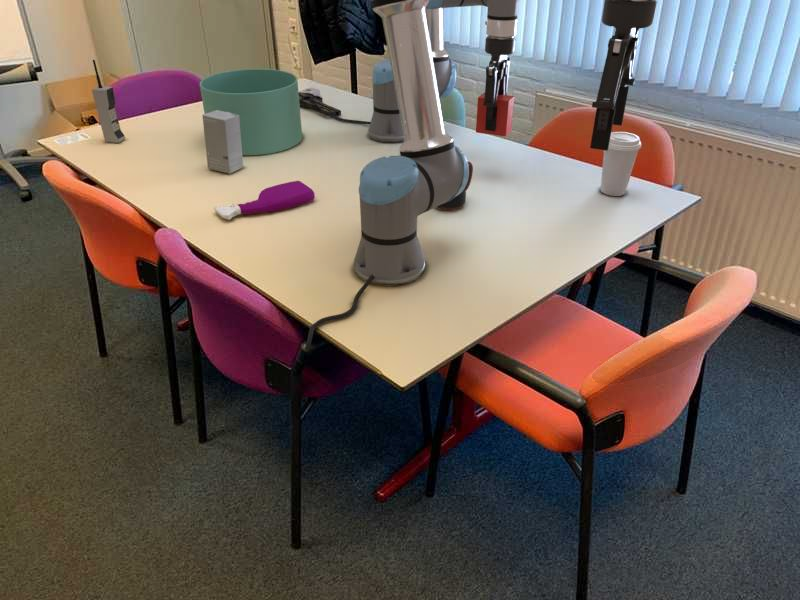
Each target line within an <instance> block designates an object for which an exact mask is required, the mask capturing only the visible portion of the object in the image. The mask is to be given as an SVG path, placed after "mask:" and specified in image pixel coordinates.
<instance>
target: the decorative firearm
mask: <svg viewBox="0 0 800 600" xmlns="http://www.w3.org/2000/svg"><path fill="white" fill-rule="evenodd" d="M298 92H299V104H300V106H302V107H305V108H306V107H308V108H310V109H311V110H315V111H316V112H319V113H322V114H323V115H325V116H327V117H332V115H335V116H337V117H340V116H342V110H340V109H338V108H336V107H334V106H331V105H328V104H326V103H324V102H323V101H324V100H323V99H324V98H323V97H321V89H319V88H316V87H308V88H304V89H302V90H301V91H298Z"/></svg>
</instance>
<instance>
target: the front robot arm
mask: <svg viewBox="0 0 800 600" xmlns="http://www.w3.org/2000/svg"><path fill="white" fill-rule="evenodd" d="M370 2H371V10H372V11H373V12H374V13H376V14H377V15H378V16H379V17H380V18H381V21H382V26H383V32H384V36H385V41H386V47H387V52H388V59H390V63H391V69H392V74H393V80H394V85H395V90H396V96H397V101H398V106H399V112H400V117H401V122H402V128H403V133H404V138H405V139H404V141H403V142H401V145H400V146H399V149H398V151H399V155H389V156H387V157H386V156H381V157H378V158H376V159H373V160H371V161H369V162H368V163H367V164H366V165H365V166H363V168H362V170H361V171H360V174H359V184H358V185H359V186H358V195H359V210H360V211H359V212H360V239H359V242H358V247H357V249H356V252H355V256H354V259H353V270H354V273H355V275H356V276H357V277H358V278H359V279H360V280H362V281H364V283H363V285H362V286H361V287H360V289H359V290H358V291H357V293H356V294H355V296H354V297H353V301H352V304H351V307H350V308H349V309H348V310H347V311H345V312H342V313H339V314H334V315H329V316H325V317H322V318H320V319H318V320H317V321H316V322H314V323H313V324H312V325H311V326H310V327H309V330H308V334H307V338H306V339H307V340H306V343H305V347H304V350H305V351H308V350H310V349H311V345H312V341H313V337H314V332H315V330H316V329H317V328H318V327H319V326H320V325H322V324H324V323H327V322H331V321H335V320H341V319H345V318H346V317H348V316H351V315H352V314H353V313H354V312H355V310H356V309H357V306H358V302H359V299H360V298H361V296H362V295H363V293H364V292H365V291H366V289H368V287H369V286H370V285H371V284H372V285H376V286H382V287H395V286H402V285H406V284H410V283H413V282H415V281H417V280H418V279H420V278H421V276H423V274H424V273H425V270H426V261H425V255H424V252H423V250H422V247H421V244H420V241H419V238H418V217H419V216H421V215H423V214H426V213H427V212H429V211H431V210H433V209H435V208H437V206H439V205H441V204H444V203H447V202H449V201H451V200H452V199H453V198H454V197H456V196H457V195H459V194H460V193H461V192H462V191H463V189H464V188H465V187H466V184H467V182H468V178H469V166H468V162H467V161H468V159H467V157H466V154H464V153H462V150H461V148H460V147H458V146H457V145H455V141H454V137H452V135H450V134H449V133H447V132H446V130H445V124H444V119H443V112H442V106H441V100H440V99H441V98H439V93H438V87H437V81H436V75H435V68H434V62H433V56H432V50H431V44H430V37H429V31H428V25H427V19H426V13H425V8H426V5H427V4H428V2H429V0H370ZM657 6H658V1H657V0H604V3H603V10H602V16H601V22H602V24H603V25H604V26H606V27H613V28H615V31H614V35H612V36H611V37H610V38H609V40H608V43H607V53H606V57H605V61H604V65H603V70H602V74H601V79H600V83H599V87H598V92H597V96H596V100H595V101H592V104H591V108H593V109H596V110H595V115H594V122H593V128H592V132H591V133H592V134H591V138H590V139H591V140H590V145H589V146H590V147H589V149H592V150H593V149H594V150H600V151H604V150H606V151H607V150H608V147H609V142H610V136H611V133H612V132H613V131H612V130H613V126H622V125H623V121H624V116H625V111H626V105H627V101H628V95H629V89H630V86H632V87H633V86H634V85H635V81H636V79H635V78H633V75H634V65H635V58H636V54H637V48H638V44H639V31H640V30H641V29H646V28H650V27H651V26H652V25H653V24H654V22H655V21H654V20H655V16H656V11H657Z"/></svg>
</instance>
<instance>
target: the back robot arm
mask: <svg viewBox="0 0 800 600" xmlns="http://www.w3.org/2000/svg"><path fill="white" fill-rule="evenodd" d="M519 5H520V0H429V2H428V4H427V5H426V8H425V13H426V19H427V25H428V31H429V37H430V44H431V50H432V56H433V62H434V68H435V75H436V81H437V87H438V93H439V99H442V98H447V97H448V96H450V95H451V94H452V92H453V91H454V89H455V86H456V82H457V68H456V64H455V62H454V61H453V59H451V58H450V53H448V51H447V50H446V49H445V20H444V19H445V18H444V17H445V14H444V13H445V10H444V9H448V8H463V7H477V6H480V7H481V6H483V7H485V8H487V12H486V13H487V14H486V21H484V24H485V26H486V31H485V34H486V35H487V36H486V37H485V40H484V41H485V43H484V51H485V53H486V54H488V55H490V56H491V58H490V60H489V62H488V66H486V67H485V86H484V93H485V99H484V104H483V105H484V106H487V110H486V125H485V130H489V131H496V119H497V107H498V106H496V105H497V97H498V94H499V95H508V89H509V87H508V86H509V77H510V76H509V75H510V66H511V61H512V59H511V56H510V57H509V55H513V54H514V53H515V49H516V37H515V36H517V31H518V30H517V28H518V16H519V8H520V7H519ZM371 82H372V100H373V101H372V109H373V110H372V111H373V112H372V117H371V118H370V119H371V120H370V121H366V120H359V119H348V118H342V117H340V116H335V115H332V116H331V117H332V118H333V119H335V120H336V121H339V122H344V123H352V124H360V125H367V126H368V125H369V126H368V129H367V132H368V133H367V134H368V137H369V138H370V139H372V140H373V141H376V142H381V143H403V142H404V139H405V138H404V133H403V128H402V122H401V117H400V112H399V106H398V101H397V96H396V90H395V85H394V80H393V74H392V69H391V63H390V58H386V59H383V60H381V61H379V62H377V63H376V64H375V65H374V66H373V68H372V79H371Z"/></svg>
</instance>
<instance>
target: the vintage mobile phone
mask: <svg viewBox="0 0 800 600" xmlns="http://www.w3.org/2000/svg"><path fill="white" fill-rule="evenodd" d="M92 64H93V67H94V71H95V76H96V77H95V78H96V82H97V85H98V86H95V87H94V88H92V89H91V92H92V97H93V100H94V105H95V109H96V112H97V116H98V120H99V123H100V127H101V131H102V135H103V139H104V142H106V143H114V144H115V143H116V144H119V143H122V142H123V141H125V140H126V136H125V134H124V132H123V131H122V129H121V126H120V121H119V117H118V113H117V110H116V98H115V91H114V86H106V85H105V86H104V85H102V82H101V78H100V75H99V71H98V67H97V64H96V60H95V59H92Z"/></svg>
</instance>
